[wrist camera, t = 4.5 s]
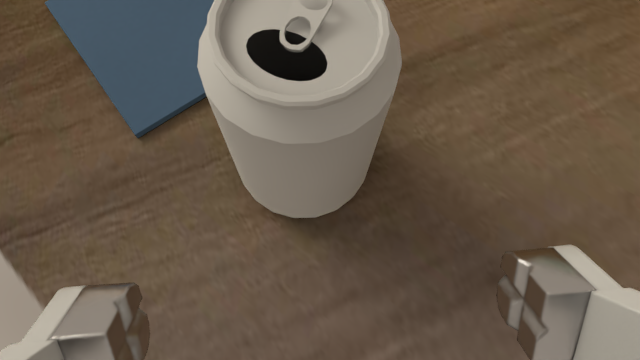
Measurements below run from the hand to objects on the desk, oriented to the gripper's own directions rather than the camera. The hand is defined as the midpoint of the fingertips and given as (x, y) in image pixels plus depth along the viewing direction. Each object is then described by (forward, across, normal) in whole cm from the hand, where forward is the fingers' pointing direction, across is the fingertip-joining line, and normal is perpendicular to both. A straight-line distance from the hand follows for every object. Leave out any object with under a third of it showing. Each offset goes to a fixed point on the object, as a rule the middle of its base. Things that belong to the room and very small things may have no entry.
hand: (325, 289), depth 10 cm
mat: (+24, +7, -4) cm, 25 cm away
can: (+16, 0, +4) cm, 16 cm away
